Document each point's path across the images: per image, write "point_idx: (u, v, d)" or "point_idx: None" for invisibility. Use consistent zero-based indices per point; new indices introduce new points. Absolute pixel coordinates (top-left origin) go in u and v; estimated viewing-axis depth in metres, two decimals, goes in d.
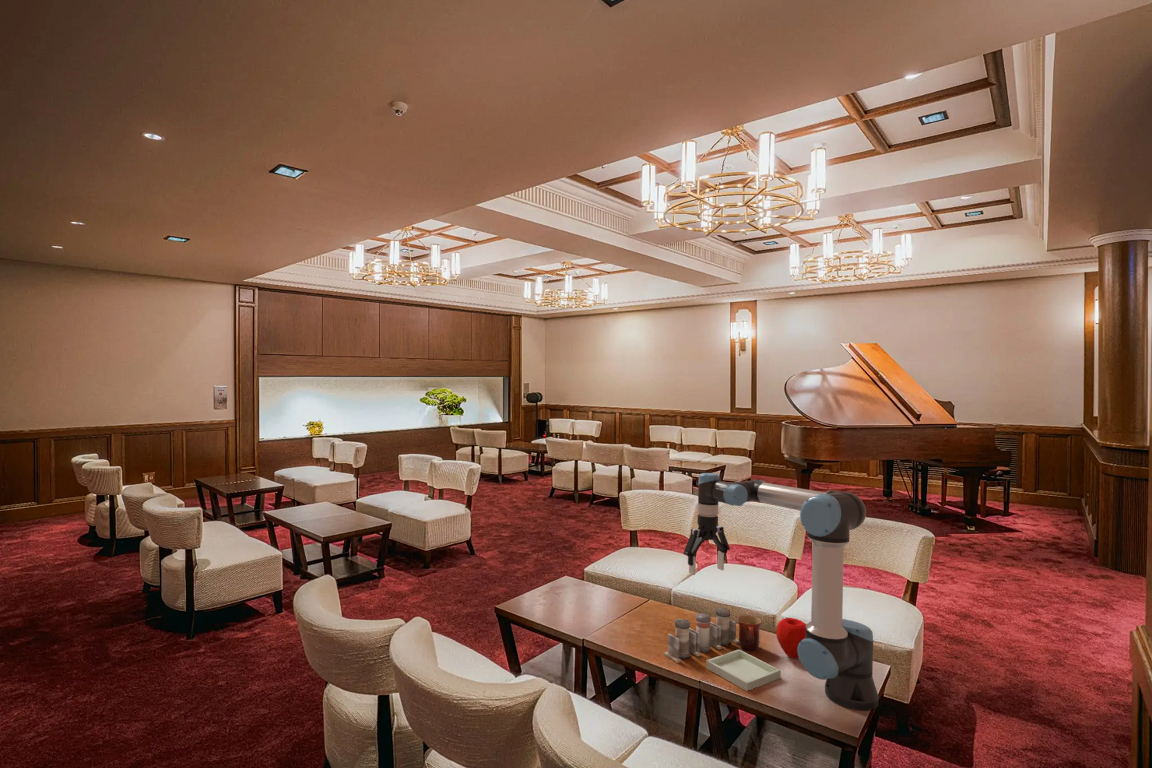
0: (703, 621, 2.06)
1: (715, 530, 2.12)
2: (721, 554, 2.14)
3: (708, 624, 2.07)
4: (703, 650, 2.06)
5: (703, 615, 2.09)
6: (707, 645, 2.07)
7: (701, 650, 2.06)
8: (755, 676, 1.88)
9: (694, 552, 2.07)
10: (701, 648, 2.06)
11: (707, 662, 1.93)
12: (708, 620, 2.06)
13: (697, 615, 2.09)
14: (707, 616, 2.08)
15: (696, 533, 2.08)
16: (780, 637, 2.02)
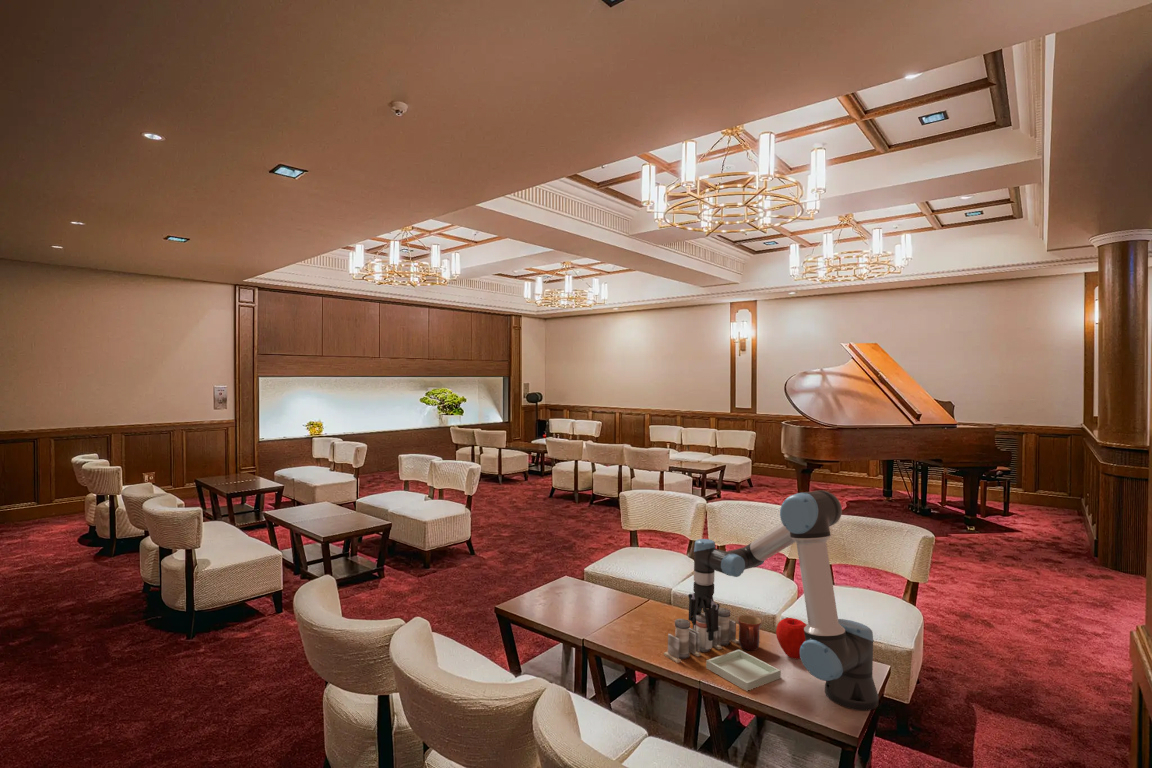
0: (703, 621, 2.06)
1: (707, 601, 2.06)
2: None
3: None
4: (703, 650, 2.06)
5: (703, 615, 2.09)
6: None
7: (701, 650, 2.06)
8: (755, 676, 1.88)
9: (693, 619, 2.11)
10: (701, 648, 2.06)
11: (707, 662, 1.93)
12: None
13: (697, 615, 2.09)
14: None
15: (690, 597, 2.13)
16: (780, 637, 2.02)
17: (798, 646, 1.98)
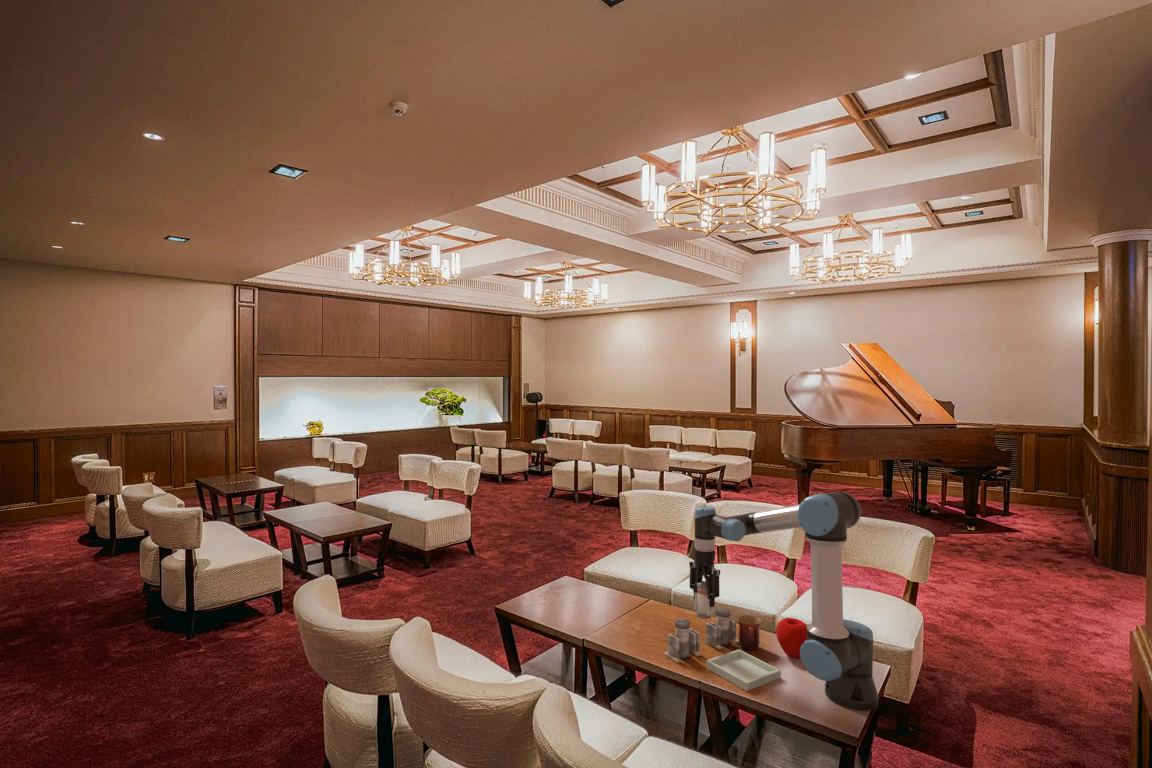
0: (704, 588, 2.06)
1: (708, 567, 2.06)
2: None
3: None
4: (704, 617, 2.06)
5: (704, 582, 2.09)
6: None
7: (702, 617, 2.06)
8: (755, 676, 1.88)
9: (694, 587, 2.11)
10: (702, 615, 2.06)
11: (707, 662, 1.93)
12: None
13: (698, 582, 2.09)
14: None
15: (690, 565, 2.13)
16: (780, 637, 2.02)
17: (799, 646, 1.98)
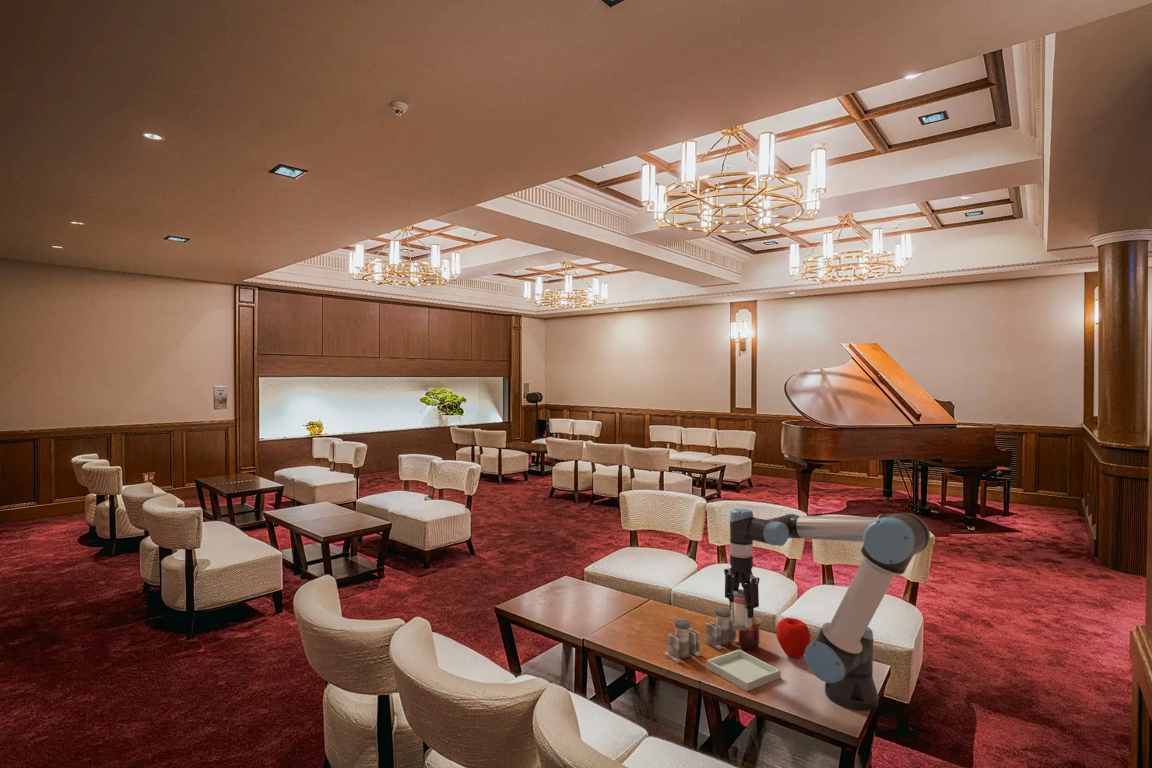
0: (741, 597, 1.90)
1: (745, 574, 1.90)
2: None
3: None
4: (742, 628, 1.90)
5: (741, 591, 1.93)
6: None
7: (740, 628, 1.90)
8: (755, 676, 1.88)
9: (730, 596, 1.95)
10: (740, 626, 1.90)
11: (707, 662, 1.93)
12: None
13: (734, 591, 1.93)
14: None
15: (725, 573, 1.97)
16: (780, 637, 2.02)
17: (799, 646, 1.98)
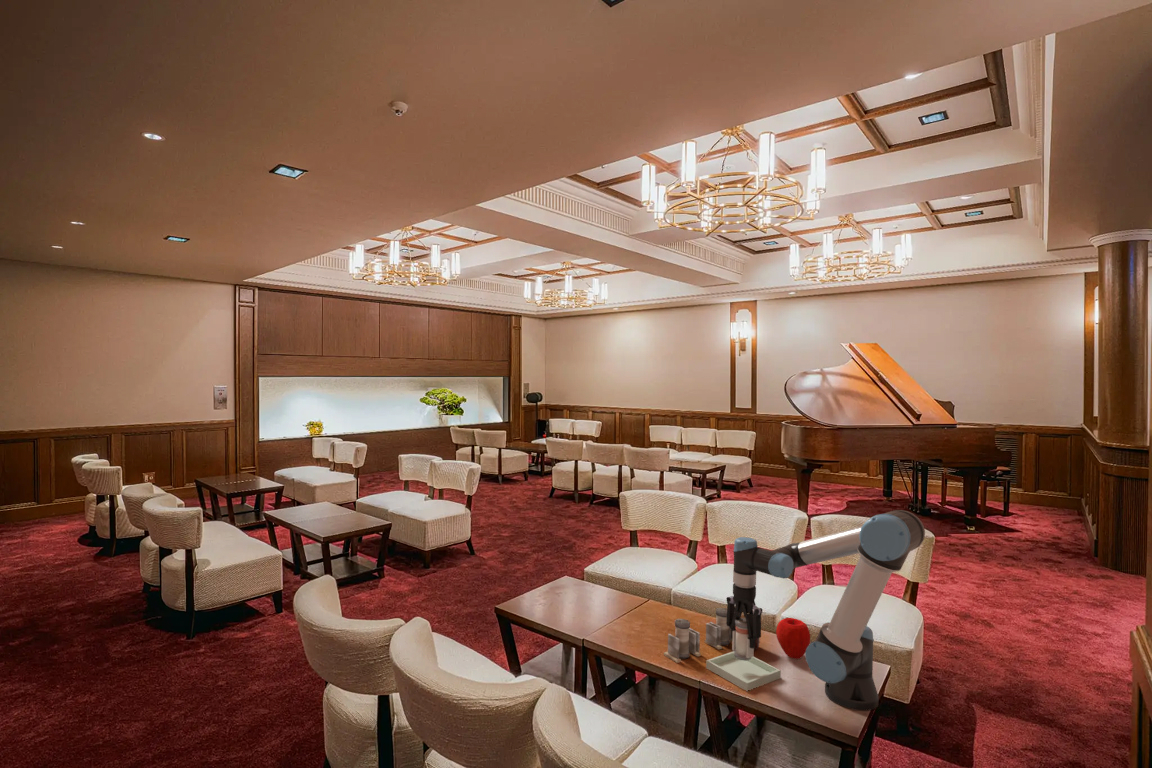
0: (744, 627, 1.89)
1: (748, 605, 1.88)
2: None
3: None
4: (744, 658, 1.89)
5: (743, 620, 1.92)
6: None
7: (741, 658, 1.89)
8: (755, 676, 1.88)
9: (732, 624, 1.94)
10: (741, 656, 1.89)
11: (707, 662, 1.93)
12: None
13: (737, 620, 1.92)
14: None
15: (728, 601, 1.96)
16: (780, 637, 2.02)
17: (799, 646, 1.98)
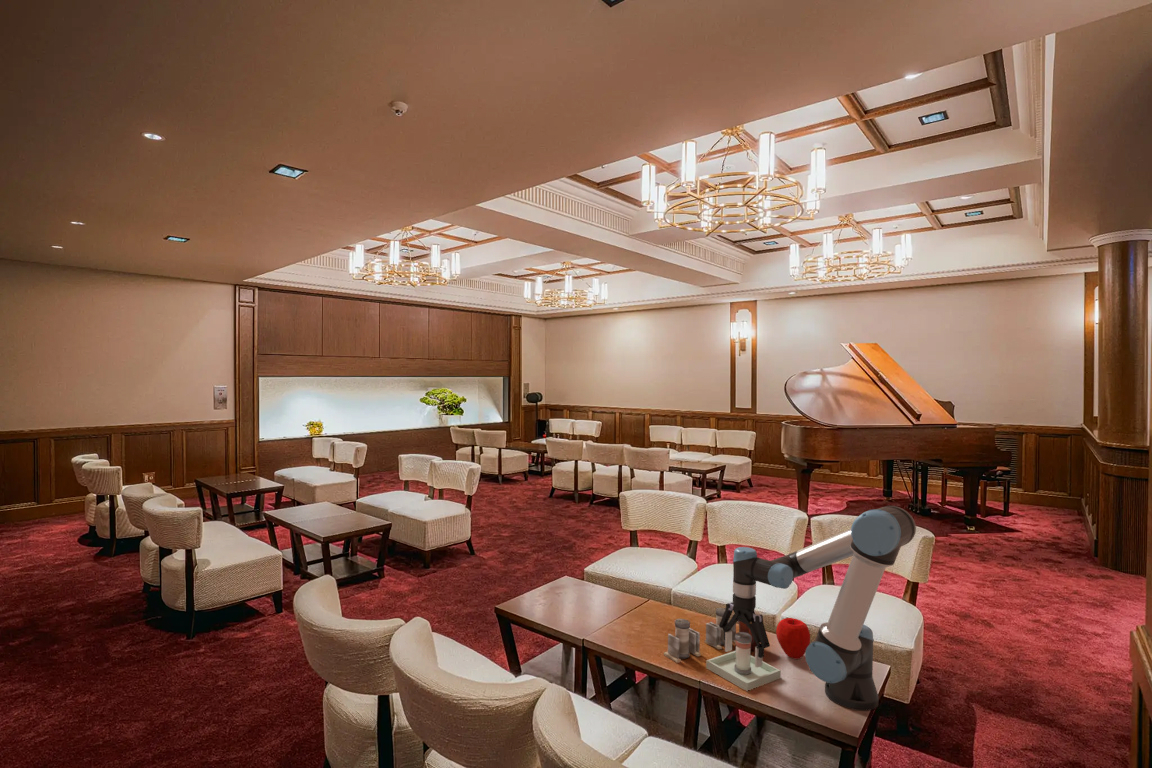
0: (744, 641, 1.88)
1: (748, 615, 1.88)
2: None
3: (749, 644, 1.89)
4: (744, 673, 1.88)
5: (743, 635, 1.91)
6: (748, 667, 1.89)
7: (742, 673, 1.88)
8: (755, 676, 1.88)
9: (726, 627, 1.96)
10: (742, 671, 1.89)
11: (707, 662, 1.93)
12: (749, 640, 1.89)
13: (737, 634, 1.92)
14: (748, 636, 1.91)
15: (727, 607, 1.96)
16: (780, 637, 2.02)
17: (799, 646, 1.98)
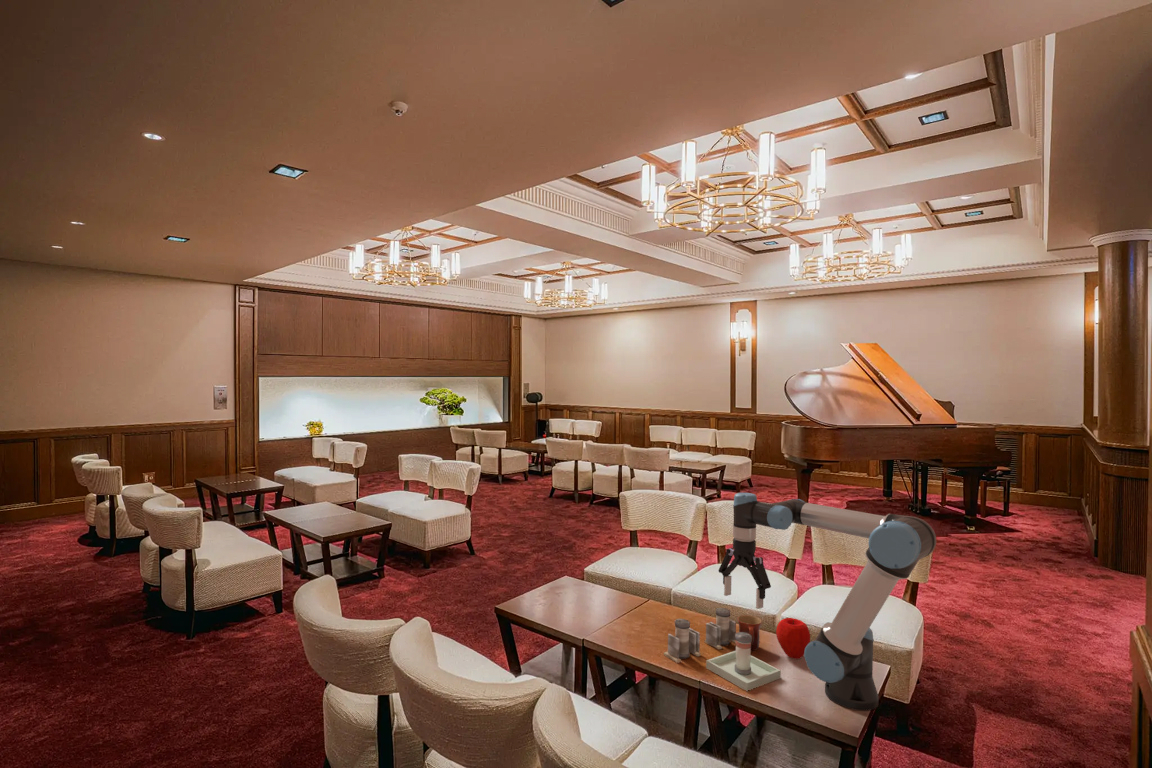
0: (744, 641, 1.88)
1: (748, 558, 1.90)
2: None
3: (749, 644, 1.89)
4: (744, 673, 1.88)
5: (743, 635, 1.91)
6: (748, 667, 1.89)
7: (742, 673, 1.88)
8: (755, 676, 1.88)
9: (725, 572, 1.98)
10: (742, 671, 1.89)
11: (707, 662, 1.93)
12: (749, 640, 1.89)
13: (737, 634, 1.92)
14: (748, 636, 1.91)
15: (727, 552, 1.97)
16: (780, 637, 2.02)
17: (799, 646, 1.98)
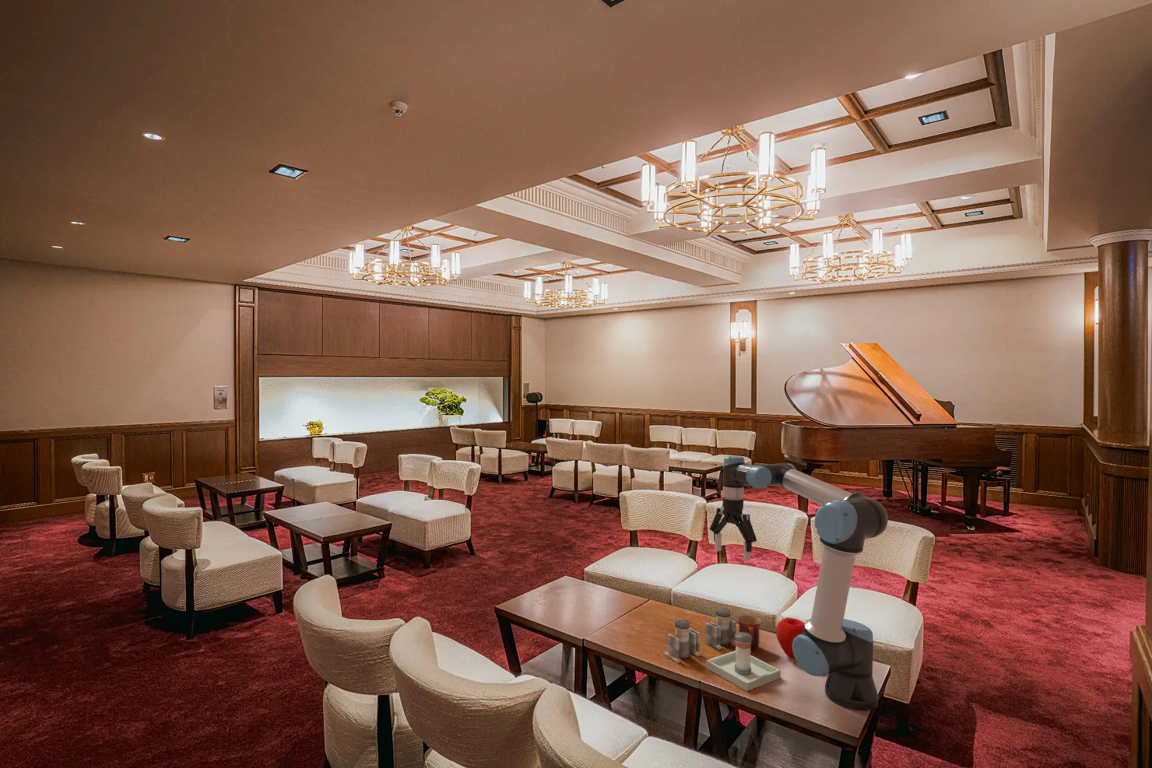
0: (744, 641, 1.88)
1: (736, 515, 2.06)
2: None
3: (749, 644, 1.89)
4: (744, 673, 1.88)
5: (743, 635, 1.91)
6: (748, 667, 1.89)
7: (742, 673, 1.88)
8: (755, 676, 1.88)
9: (715, 529, 2.14)
10: (742, 671, 1.89)
11: (707, 662, 1.93)
12: (749, 640, 1.89)
13: (737, 634, 1.92)
14: (748, 636, 1.91)
15: (717, 511, 2.13)
16: (780, 637, 2.02)
17: None
